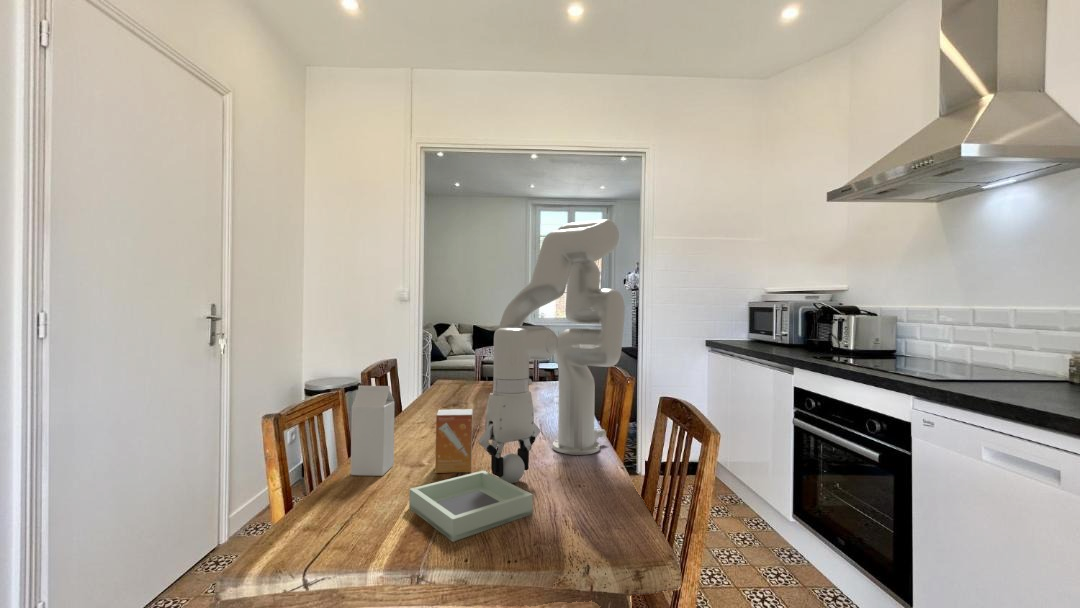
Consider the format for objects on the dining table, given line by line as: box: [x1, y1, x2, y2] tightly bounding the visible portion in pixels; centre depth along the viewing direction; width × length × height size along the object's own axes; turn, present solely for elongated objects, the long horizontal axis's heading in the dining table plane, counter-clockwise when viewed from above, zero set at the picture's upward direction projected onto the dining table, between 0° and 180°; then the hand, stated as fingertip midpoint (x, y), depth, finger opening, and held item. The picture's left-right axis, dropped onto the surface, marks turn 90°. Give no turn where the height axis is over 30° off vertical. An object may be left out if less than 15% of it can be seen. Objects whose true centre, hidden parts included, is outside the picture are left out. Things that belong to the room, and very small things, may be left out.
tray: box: [408, 470, 534, 543], centre depth 84 cm, size 16×16×4 cm
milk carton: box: [350, 385, 395, 477], centre depth 105 cm, size 7×7×19 cm
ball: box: [498, 452, 526, 484], centre depth 98 cm, size 6×6×6 cm
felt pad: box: [436, 490, 499, 515], centre depth 84 cm, size 10×10×1 cm
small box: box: [434, 408, 474, 474], centre depth 107 cm, size 8×6×13 cm
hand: (510, 471), depth 98 cm, fingers closed on ball, 5 cm apart
